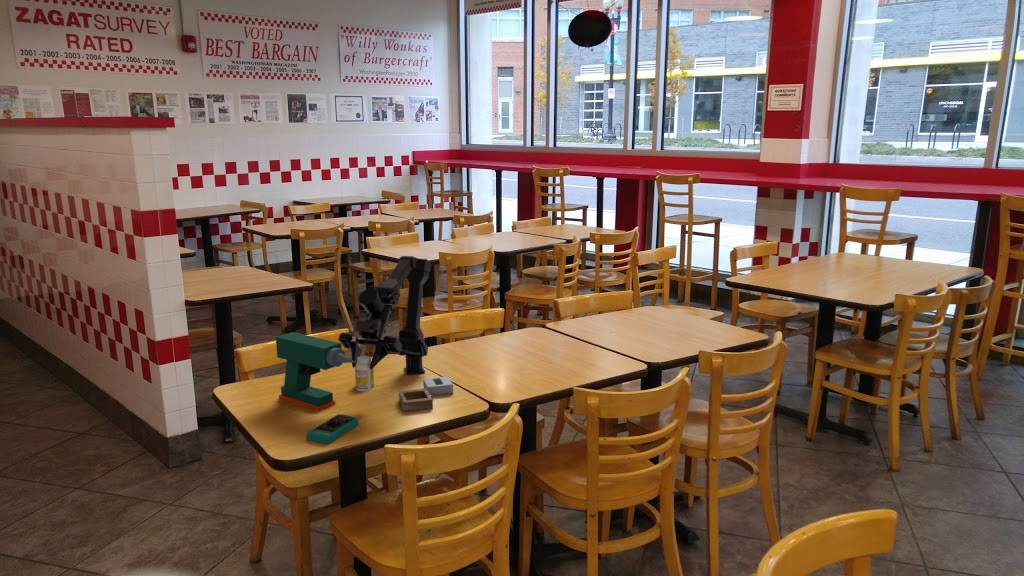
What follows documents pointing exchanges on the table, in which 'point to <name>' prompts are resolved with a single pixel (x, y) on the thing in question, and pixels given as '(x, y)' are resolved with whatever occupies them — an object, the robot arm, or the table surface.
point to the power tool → (307, 368)
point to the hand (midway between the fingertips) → (361, 367)
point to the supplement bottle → (364, 374)
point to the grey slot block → (438, 385)
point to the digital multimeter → (332, 429)
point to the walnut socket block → (415, 400)
